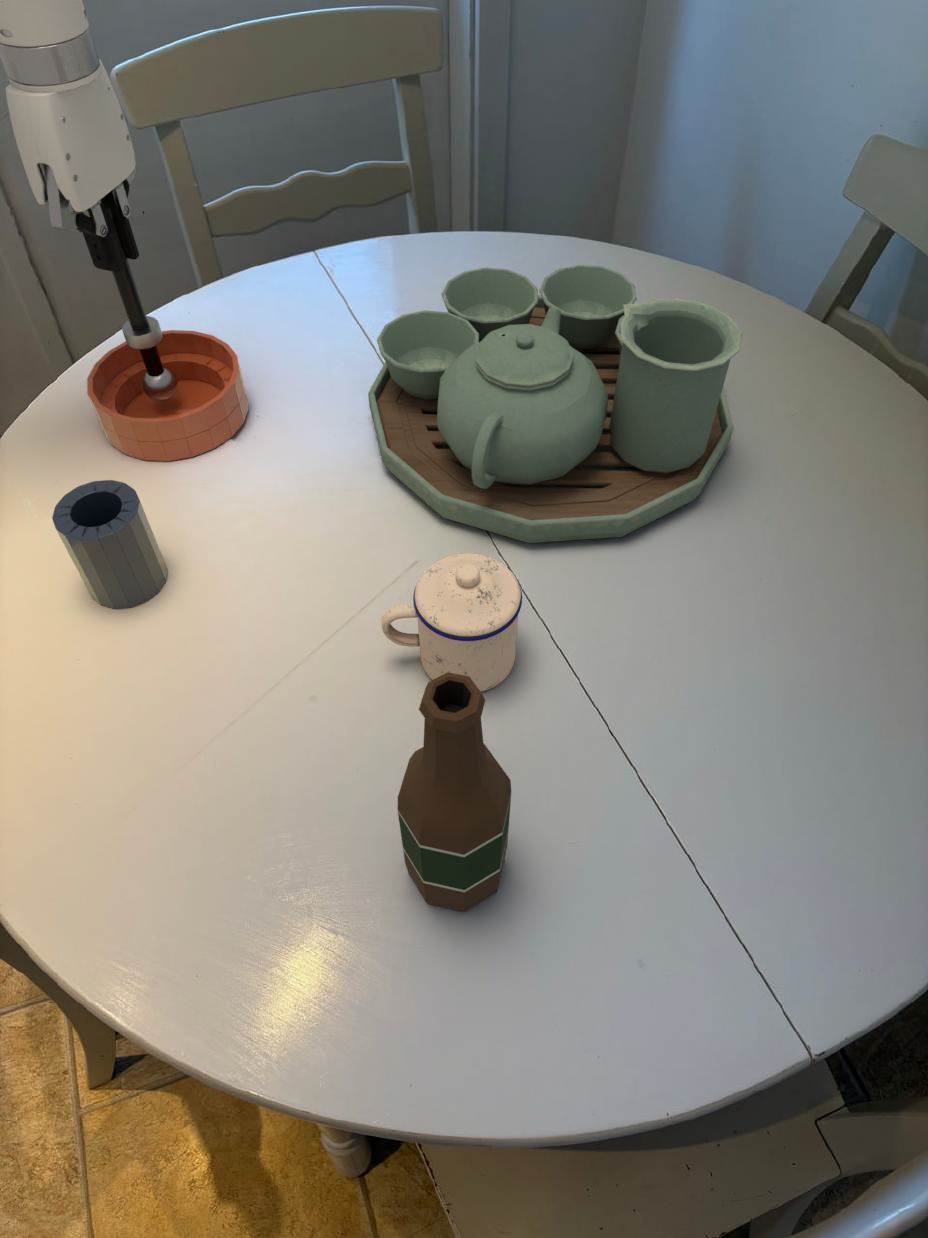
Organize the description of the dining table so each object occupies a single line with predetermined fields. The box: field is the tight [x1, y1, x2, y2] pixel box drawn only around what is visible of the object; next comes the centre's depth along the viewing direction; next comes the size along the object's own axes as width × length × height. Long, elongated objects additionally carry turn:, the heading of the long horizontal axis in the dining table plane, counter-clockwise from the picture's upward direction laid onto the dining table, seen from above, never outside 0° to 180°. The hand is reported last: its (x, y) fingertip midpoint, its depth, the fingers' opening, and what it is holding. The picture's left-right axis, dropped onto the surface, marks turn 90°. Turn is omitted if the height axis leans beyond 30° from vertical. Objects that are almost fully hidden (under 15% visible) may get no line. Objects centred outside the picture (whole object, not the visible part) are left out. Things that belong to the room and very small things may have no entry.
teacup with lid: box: [380, 553, 523, 693], centre depth 76 cm, size 12×9×12 cm
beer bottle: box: [397, 672, 512, 912], centre depth 59 cm, size 8×8×24 cm
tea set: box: [367, 264, 743, 544], centre depth 95 cm, size 40×40×16 cm
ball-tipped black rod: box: [99, 203, 178, 402], centre depth 92 cm, size 4×4×22 cm
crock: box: [51, 479, 169, 610], centre depth 82 cm, size 7×7×10 cm
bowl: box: [86, 329, 250, 462], centre depth 99 cm, size 16×16×6 cm
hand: (117, 261), depth 88 cm, fingers closed on ball-tipped black rod
